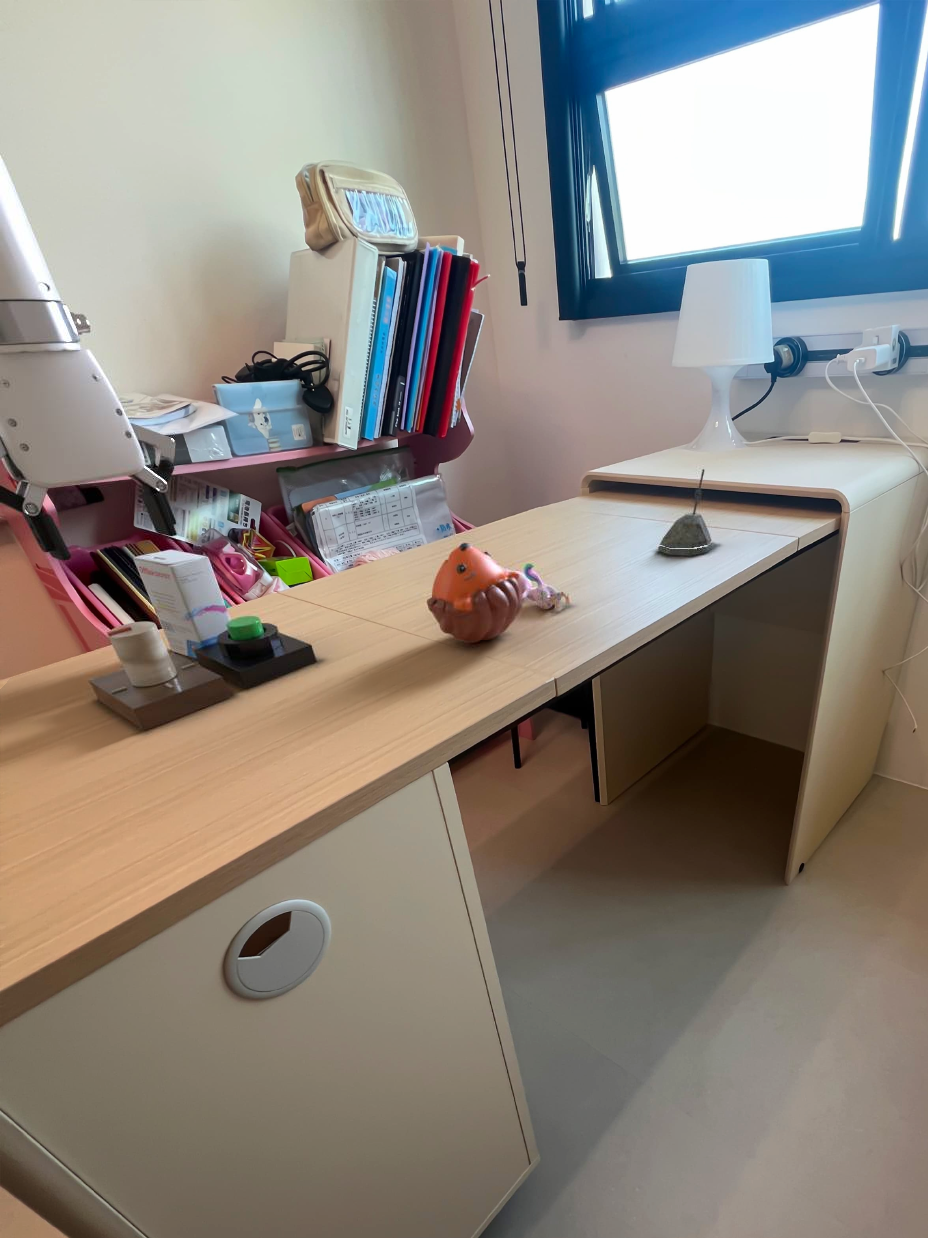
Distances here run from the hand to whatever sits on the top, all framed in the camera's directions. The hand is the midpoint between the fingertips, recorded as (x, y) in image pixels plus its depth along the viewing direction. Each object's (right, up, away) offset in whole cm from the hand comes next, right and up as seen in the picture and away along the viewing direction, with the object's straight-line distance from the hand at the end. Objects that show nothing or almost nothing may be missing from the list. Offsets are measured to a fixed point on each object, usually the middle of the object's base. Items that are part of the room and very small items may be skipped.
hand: (117, 545), depth 64 cm
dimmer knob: (-1, -12, +7) cm, 13 cm away
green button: (+6, -6, +13) cm, 15 cm away
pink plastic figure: (+37, +3, +30) cm, 47 cm away
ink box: (-3, -6, +19) cm, 20 cm away
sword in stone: (+63, +18, +49) cm, 82 cm away
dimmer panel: (-1, -14, +8) cm, 16 cm away
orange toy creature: (+33, -5, +19) cm, 38 cm away
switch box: (+6, -9, +15) cm, 18 cm away
